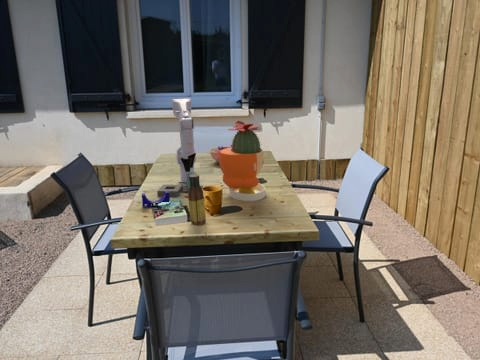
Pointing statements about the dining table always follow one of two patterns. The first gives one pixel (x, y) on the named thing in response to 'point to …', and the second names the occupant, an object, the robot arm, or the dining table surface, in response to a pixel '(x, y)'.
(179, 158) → the robot arm
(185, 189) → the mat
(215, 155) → the cell model
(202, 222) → the sauce bottle
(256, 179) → the potted cactus
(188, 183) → the plug
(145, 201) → the cable clip
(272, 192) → the dining table surface
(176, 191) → the socket block
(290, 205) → the dining table surface
